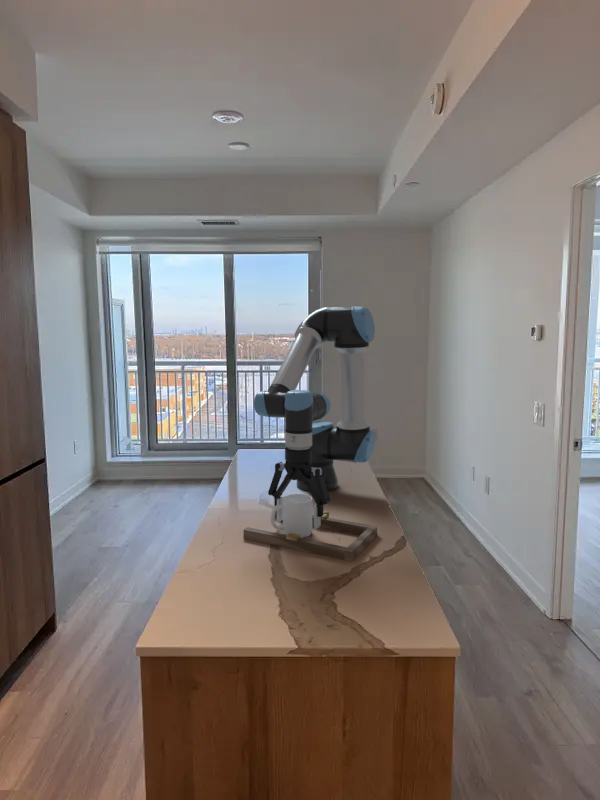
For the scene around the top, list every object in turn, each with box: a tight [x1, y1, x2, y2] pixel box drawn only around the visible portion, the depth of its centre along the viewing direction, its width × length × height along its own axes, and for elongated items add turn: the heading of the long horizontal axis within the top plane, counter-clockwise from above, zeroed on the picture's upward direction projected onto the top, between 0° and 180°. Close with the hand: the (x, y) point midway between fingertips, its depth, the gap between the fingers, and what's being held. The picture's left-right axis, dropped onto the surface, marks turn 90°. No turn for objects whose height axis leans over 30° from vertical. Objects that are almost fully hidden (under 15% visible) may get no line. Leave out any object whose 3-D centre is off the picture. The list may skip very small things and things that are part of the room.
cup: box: [270, 493, 313, 539], centre depth 147 cm, size 8×12×10 cm
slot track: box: [243, 510, 378, 562], centre depth 146 cm, size 22×32×3 cm
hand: (298, 523), depth 146 cm, fingers open, 11 cm apart
